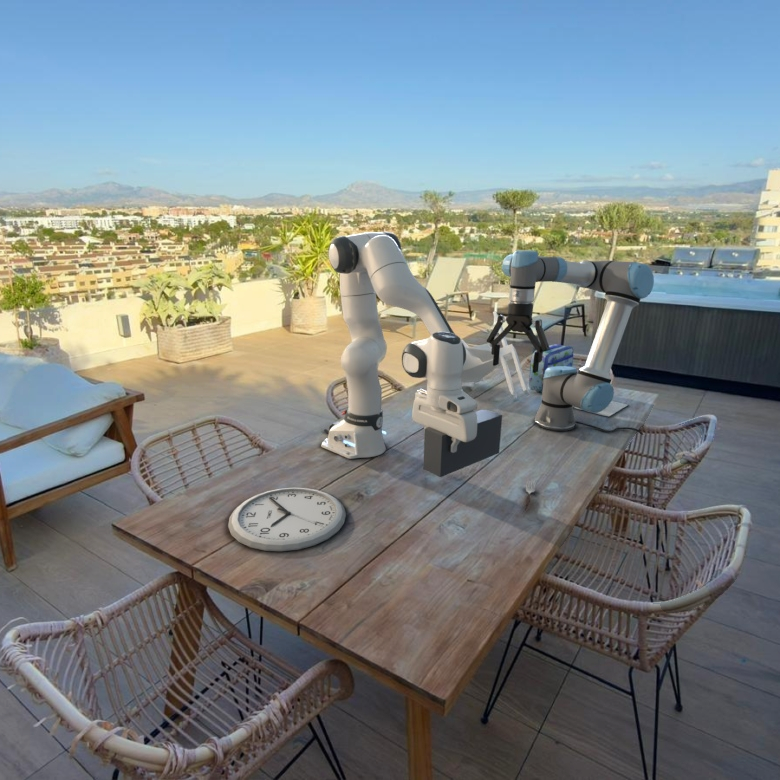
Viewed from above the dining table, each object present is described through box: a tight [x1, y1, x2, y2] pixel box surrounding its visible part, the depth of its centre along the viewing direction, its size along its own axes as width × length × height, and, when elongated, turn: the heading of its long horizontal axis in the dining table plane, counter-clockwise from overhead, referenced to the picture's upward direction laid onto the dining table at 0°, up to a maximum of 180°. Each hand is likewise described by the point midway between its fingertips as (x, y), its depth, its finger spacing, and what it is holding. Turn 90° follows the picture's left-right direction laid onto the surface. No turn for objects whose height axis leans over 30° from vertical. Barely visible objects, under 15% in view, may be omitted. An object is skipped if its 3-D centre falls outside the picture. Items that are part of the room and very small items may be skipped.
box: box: [422, 408, 503, 478], centre depth 143 cm, size 24×6×12 cm, turn 130°
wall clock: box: [227, 487, 347, 552], centre depth 136 cm, size 30×2×30 cm
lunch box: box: [528, 344, 574, 393], centre depth 247 cm, size 26×11×21 cm, turn 134°
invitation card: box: [573, 400, 629, 418], centre depth 226 cm, size 21×1×15 cm
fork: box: [525, 478, 537, 511], centre depth 148 cm, size 3×16×2 cm, turn 160°
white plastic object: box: [460, 310, 531, 400], centre depth 245 cm, size 37×45×31 cm
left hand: (441, 446), depth 137 cm, fingers closed on box, 6 cm apart
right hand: (514, 368), depth 168 cm, fingers open, 13 cm apart
